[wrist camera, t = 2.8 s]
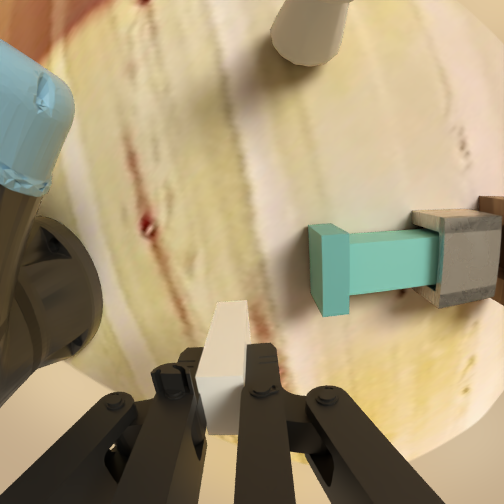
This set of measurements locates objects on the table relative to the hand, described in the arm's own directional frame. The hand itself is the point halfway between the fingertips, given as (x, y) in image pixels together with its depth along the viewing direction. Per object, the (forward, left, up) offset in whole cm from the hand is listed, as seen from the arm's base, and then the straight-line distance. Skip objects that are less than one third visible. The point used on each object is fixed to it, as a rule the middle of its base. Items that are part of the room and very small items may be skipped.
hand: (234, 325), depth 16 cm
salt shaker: (+7, +19, -12) cm, 23 cm away
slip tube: (+13, 0, -11) cm, 17 cm away
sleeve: (+19, 0, -12) cm, 23 cm away
